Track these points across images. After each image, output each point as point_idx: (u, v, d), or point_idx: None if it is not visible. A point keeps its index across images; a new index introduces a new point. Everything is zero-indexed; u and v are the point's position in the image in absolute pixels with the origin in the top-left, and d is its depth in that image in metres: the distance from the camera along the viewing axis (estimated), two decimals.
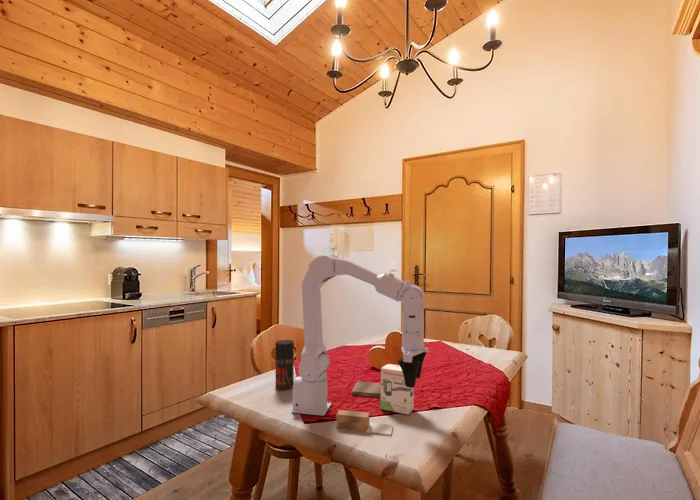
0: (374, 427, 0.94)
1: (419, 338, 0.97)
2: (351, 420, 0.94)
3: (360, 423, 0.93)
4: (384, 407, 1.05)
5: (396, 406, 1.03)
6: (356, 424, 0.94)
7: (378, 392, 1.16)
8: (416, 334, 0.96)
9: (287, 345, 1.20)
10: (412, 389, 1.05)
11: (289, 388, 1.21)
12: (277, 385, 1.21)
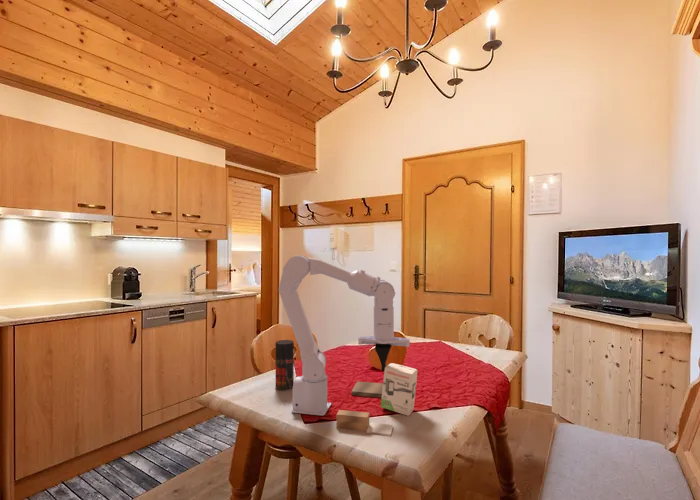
0: (374, 427, 0.94)
1: (376, 329, 1.05)
2: (351, 420, 0.94)
3: (360, 423, 0.93)
4: (384, 406, 1.05)
5: (396, 406, 1.03)
6: (356, 424, 0.94)
7: (378, 392, 1.16)
8: (374, 324, 1.06)
9: (287, 345, 1.20)
10: (414, 391, 1.04)
11: (289, 388, 1.21)
12: (277, 385, 1.21)
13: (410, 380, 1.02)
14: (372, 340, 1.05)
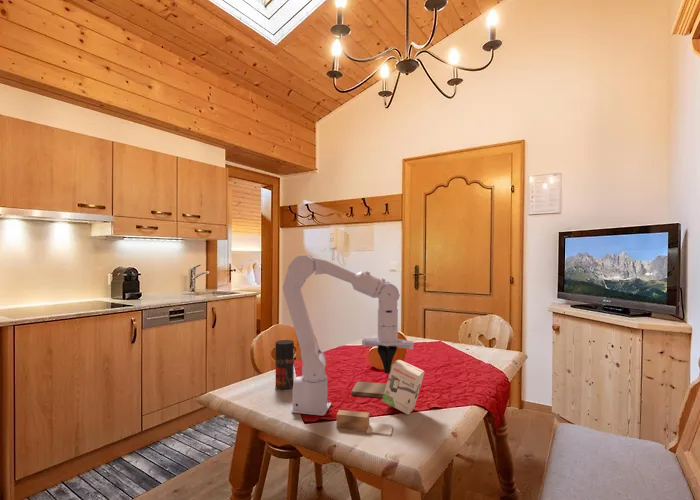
0: (374, 427, 0.94)
1: (380, 331, 1.05)
2: (351, 420, 0.94)
3: (360, 423, 0.93)
4: (386, 401, 1.05)
5: (398, 404, 1.03)
6: (356, 424, 0.94)
7: (378, 392, 1.16)
8: (378, 326, 1.06)
9: (287, 345, 1.20)
10: (418, 391, 1.04)
11: (289, 388, 1.21)
12: (277, 385, 1.21)
13: (416, 381, 1.01)
14: (376, 342, 1.05)
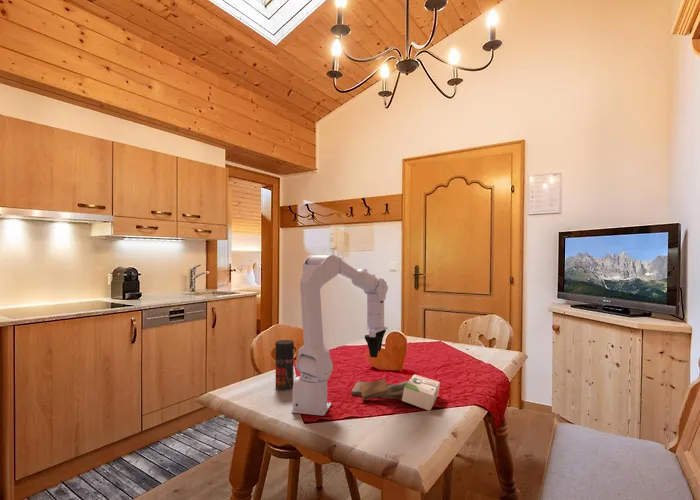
0: None
1: (381, 319, 1.23)
2: (373, 385, 1.12)
3: (380, 385, 1.12)
4: (409, 386, 1.08)
5: (422, 389, 1.07)
6: (378, 387, 1.12)
7: None
8: (378, 315, 1.23)
9: (287, 345, 1.20)
10: (435, 398, 1.10)
11: (289, 388, 1.21)
12: (277, 385, 1.21)
13: (437, 383, 1.14)
14: (380, 329, 1.22)
